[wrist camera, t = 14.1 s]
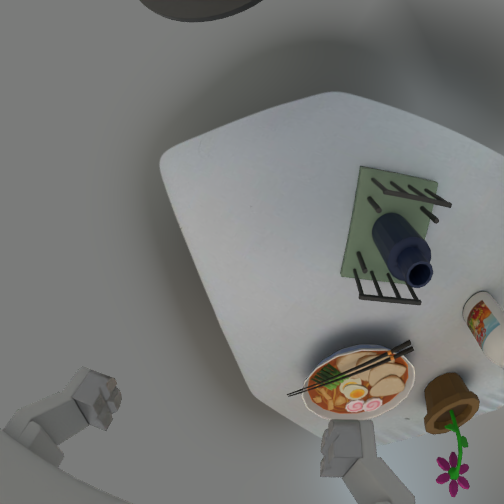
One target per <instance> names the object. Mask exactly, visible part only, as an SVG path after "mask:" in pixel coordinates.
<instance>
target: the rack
mask: <svg viewBox="0 0 504 504" xmlns="http://www.w3.org/2000/svg"><path fill="white" fill-rule="evenodd" d="M437 186H438V183H437V182H435V181H431V180H427V179H422V178H418V177H414V176H409V175H404V174H399V173H395V172H390V171H384V170H379V169H374V168H368V167H363V166H360V170H359V177H358V183H357V189H356V196H355V201H354V207H353V213H352V218H351V224H350V229H349V234H348V239H347V244H346V249H345V254H344V259H343V263H342V268H341V272H340V274H341V277H349V278H355V280H356V283H357V287H358V291H359V299H361V300H370V301H380V302H390V303H401V304H412V305H421V300H418V298H417V296H416V294H415V292H414V290H413V289H412V287H411V286H410V285H409V284H408V283H407V282H406V281H401V280H398V279H396V278H395V277H393V276H392V275H391V273H390V271H389V270H388V268H387V266H386V264H385V262H384V260H383V258H382V256H381V254H380V252H379V250H378V249H377V247H376V245H375V243H374V241H373V238H372V228H373V225H374V223H375V222H376V220H377V219H378V218H379V217H380V216H382V215H384V214H386V213H397V214H399V215H401V216H402V217H403V218H405V219H406V220H407V221H408V222H409V223H410V225H411V226H412V227H413V228H414V229H415V230H416V231H417V232H418V233H419V234H420V236H421V237H422V238H423V239H424V240H425V237H426V233H427V230H428V226H429V222H430V219H431V220H432V221H433V222H434V223H436V224H437V223H438V222H439V219H438V218H437V217H436V216H434V215H433V214H432V209H433V205H434V204H435V205H440V206H444V207H449V208H451V206H452V204H451V203H450V202H447V201H446V200H444V199H443V198H441V197H439V196H438V195H436V191H437ZM359 279H366V280H373V282H374V285H375V288H376V290H377V293H378V296H375V295H366V294H364V293H363V290H362V286H361V283H360V280H359ZM377 281H383V282H390V284H391V286H392V288H393V290H394V293H395V295H396V297H397V298H395V297H385V296H383V295H382V292H381V290H380V287H379V285H378V282H377ZM394 283H401V284H406V285H407V287H408V289H409V291H410V293H411V295H412V297H413V298H414V299H405V298H401V296H400V294H399V292H398V290H397V288H396V286H395V284H394Z"/></svg>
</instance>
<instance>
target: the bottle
mask: <svg viewBox="0 0 504 504" xmlns="http://www.w3.org/2000/svg"><path fill="white" fill-rule="evenodd" d="M372 238H373V241H374V243H375V245H376V247H377V249H378V250H379V252H380V254H381V256H382V258H383V260H384V262H385V264H386V266H387V268H388V270H389V271H390V273H391V275H392V276H393V277H395V278H396V279H398V280H401V281H406V282H407V283H408V284H409V285H410V286H411V287H414V288H420V287H423V286H425V285H426V284H427V283H428V282H429V281H430V280H431V278H432V275H433V269H432V266H431V264H430V260H431V250H430V248H429V246H428V244H427V242H426V241H425V240H424V239H423V238H422V237H421V236H420V234H419V233H418V232H417V231H416V230H415V229H414V228H413V227H412V226H411V225H410V223H409V222H408V221H407V220H406V219H405V218H403V217H402V216H401V215H399V214H397V213H386V214H384V215H382V216H380V217H379V218H378V219H377V220H376V222H375V223H374V225H373V228H372Z"/></svg>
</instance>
